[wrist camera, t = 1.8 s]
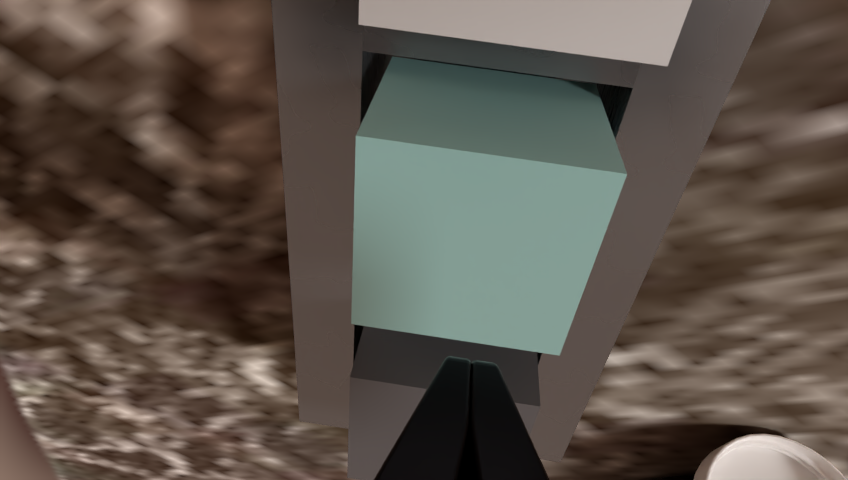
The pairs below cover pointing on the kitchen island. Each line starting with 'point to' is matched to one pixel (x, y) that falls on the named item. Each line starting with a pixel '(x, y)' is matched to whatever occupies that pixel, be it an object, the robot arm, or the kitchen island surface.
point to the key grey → (544, 24)
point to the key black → (417, 387)
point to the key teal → (480, 203)
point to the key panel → (615, 79)
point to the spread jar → (763, 461)
